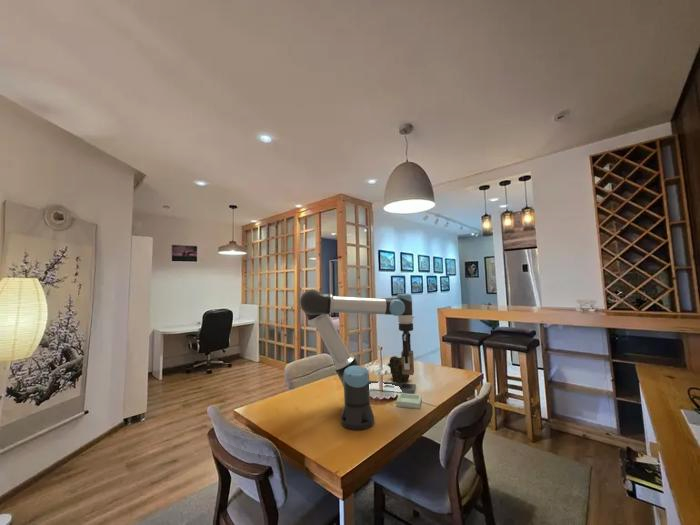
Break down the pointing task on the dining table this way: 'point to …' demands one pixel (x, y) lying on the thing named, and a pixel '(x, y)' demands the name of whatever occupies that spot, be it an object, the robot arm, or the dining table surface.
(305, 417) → the dining table surface
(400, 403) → the tray
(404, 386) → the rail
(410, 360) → the block
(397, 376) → the rock
